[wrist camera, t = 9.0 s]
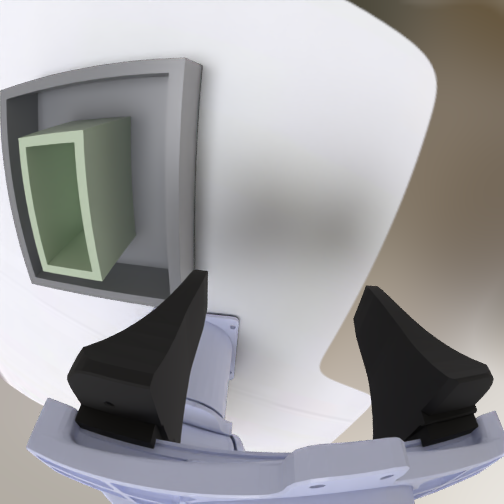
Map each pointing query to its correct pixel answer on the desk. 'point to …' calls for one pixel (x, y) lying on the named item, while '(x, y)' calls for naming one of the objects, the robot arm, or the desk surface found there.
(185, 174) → the charcoal crate
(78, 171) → the sage crate
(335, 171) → the desk surface
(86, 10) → the desk surface
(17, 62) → the desk surface
